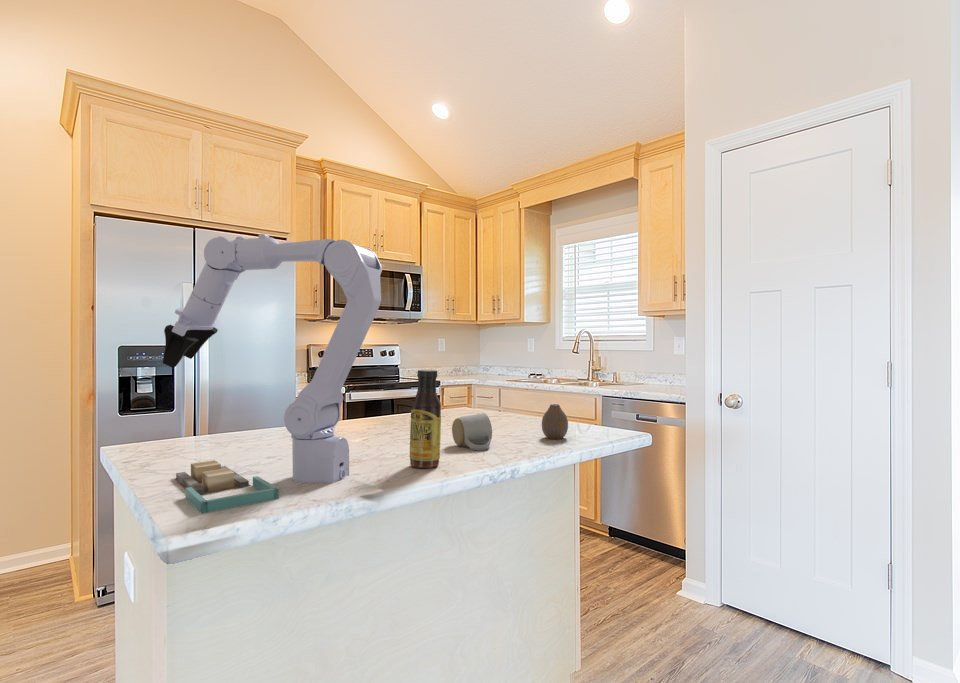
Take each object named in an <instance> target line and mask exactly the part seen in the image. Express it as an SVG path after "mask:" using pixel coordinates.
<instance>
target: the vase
mask: <svg viewBox="0 0 960 683" xmlns="http://www.w3.org/2000/svg"><path fill="white" fill-rule="evenodd" d="M568 421H569V420H568V417H567V414H566V413H565V412H564V411H563V409H562V408H561V406H560V404H558V403H557V404H556V403H553V404H552V403H551V404H550V405H549V407H548V409H547V410H546V411H545V412H544V414H543V416H542V419H541V430H542V433H543V435H544V436H545V437H546V438H547V439H549V440H562V439H564V438H565V436H566V435H567V433H568V431H569V430H568V429H569V422H568Z"/></svg>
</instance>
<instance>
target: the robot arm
mask: <svg viewBox="0 0 960 683" xmlns="http://www.w3.org/2000/svg"><path fill="white" fill-rule="evenodd" d="M203 258H204V261H205V263H204V265H203V268H202V269H201V272H200V274H199V276H198V278H197V280H196V282H195V284H194V286H193V288H192V291H191V293H190V295H189V297H188V299H187V302H186V303H185V306H184V308H183V309H182V308H176V309H175V311H174V314H176V315H177V316H179V317H178V320H177V321H176V322H175V324H174V325H172V324H168V325H166V326H165V327H164V330H163V331H164V332H163V334H164V337H165V346H164V352H163V358H162V364H163V365H166V366H168V367H171V368H172V369H173V368H176V367H177V366H178V364H179V363H180V362H181V360H182V359H183V357H186V358H188V359H190V360H191V359H193V358H194V357H195V356H196V354H197V353H198V352H199V351H200V350H201V348H202V347H203V346H204V344H205V343H206V342H207V341H209V339H210V338H212V337H213V336H214V335H215V334H216V333H217V332H218V330H219V329H217V328H216V327H215V324H216V323H215V322H216V320H217V318H218V316H219V313H220V312H221V310H222V308H223V305H224V304H225V301H226V298H227V297H228V295H229V294H230V291H231V289H232V287H233V286H234V282H235V281H238V278H239V276H240V275H241V274H242V273H244V272H245V271H253V270H256V271H257V270H274V269H275V270H276V269H277V268H278V267H279V266H281V264H282V262H287V263H289V262H317V263H318V264H320V265H323V266H324V267H325V269H326V270H327V271H328V273H329V274H330V275H331V276H332V278H333V279H334V280H335V281H336V282H337V283H338V284H339V285H340V287H341V289H342V291H343V293H344V296H345V297H346V300H347V301H346V304H345V306H344V308H343V310H342V312H341V315H340V318H339V319H338V322H337V324H336V326H335V328H334V329H333V330H334V331H333V333H332V334H331V337H330V339H329V341H328V344H327V345H326V349H325V350H324V353H323V354H322V356H321V360H320V361H319V364H318V366H317V369H316V370H315V372H314V375H313V377H312V379H311V381H310V382H309V383H308V384H307V385H306V386H304V388H302V389H301V390H300V391H299V393H298V395H297V397H296V399H295V400H294V401H293V402H292V403H290V404H289V405H288V406H287V407H286V409H285V411H284V415H283V422H284V423H283V424H284V425H285V426H284V427H285V428H286V430H287V432H288V433H290V437H291V439H292V441H291V442H292V444H291V445H292V480H293V481H295V482H297V483H324V484H325V483H327V484H334V483H336V482H338V481H340V480H344V479H345V478H346V477H350V445H349V442H348V440H347V439H346V438H345V437H343V436H336V435H335V426H336V425H337V424H338V423H339V422H340V420H341V419H340V418H341V413H342V412H341V411H342V410H341V409H342V408H341V407H342V403H343V401H344V394H343V393H342V388H343V387H344V384H345V382H346V380H347V378H348V376H349V373H350V371H351V369H352V367H353V365H354V362H355V360H356V358H357V356H358V353H359V352H360V349H361V347H362V345H363V342H364V340H365V339H366V336H367V334H368V332H369V331H370V330H369V329H370V327H371V326H372V325H373V324H372V323H373V321H374V319H375V316H376V314H377V312H378V310H379V308H380V305H381V302H382V289H381V288H382V287H381V274H382V271H383V266H382V264H381V262H380V260H379V258H378V255H377V254H376V253H375V252H374V251H373V249H372V250H371V249H370V248H367V247H362V246H360V245H357V244H354V243H353V242H351V241H349V240H346V239H337V240H336V239H332V238H325V239H324V238H323V239H315V240H314V239H312V240H303V241H296V242H294V241H293V242H284V243H283V242H282V243H280V242H279V241H278V240H277V239H275V238H274V237H271V236H270V235H268V234H265V233H260V234H258V237H253V238H251V237H250V238H245V237H244V236H241V235H240V236H236V237H235V239H233V240H231V239H228V238H226V237H224V236H217V237H213V238H211V239H209V240H208V241H207V243H206V244H205V246H204V250H203Z"/></svg>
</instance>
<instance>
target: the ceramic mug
mask: <svg viewBox="0 0 960 683" xmlns="http://www.w3.org/2000/svg"><path fill="white" fill-rule="evenodd" d="M451 432H452V439H453V441H454V444H456V445H457V446H458V447H469V449H471V450H473V451H477V452H478V451H479V452H480V451H486V450H488V449H489V447H490V446H491V441H492V438H493V427H492V422H491V420H490V418H489V416H488V415H487V414H486V413H483V412H482V413H477V414H476V413H475V414H471V415H464V416H460V417H456V418H455V419H454V420H453V421H452V427H451Z"/></svg>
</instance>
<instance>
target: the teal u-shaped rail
mask: <svg viewBox="0 0 960 683" xmlns="http://www.w3.org/2000/svg"><path fill="white" fill-rule="evenodd" d="M252 487H253V488H255V489H257V490H256V491H250V492H245V493H244V492H243V493H238V494H233V495H229V496H223V497H217V498H212V499H205V497H203V496H202V495H200V494H199V493H197V492H196V491H195V490H194V489H193V488H192V487H188V488H186V490H185V499H186V500H187V501H188V502H189V503H190V504H191V505H192V506H193V507H194V508H196V509H197V510H198V511H199V512H200V514H206V513H211V512H216V511H221V510H226V509H233V508H237V507H242V506H247V505H252V504H257V503H263V502H268V501H274V500H278V499H279V498H280V488H279V487H277V486H276V485H273V484H272V483H270V482H268V481H266V480H265V479H263V478H261V476H258V475H257V476H252Z"/></svg>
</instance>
